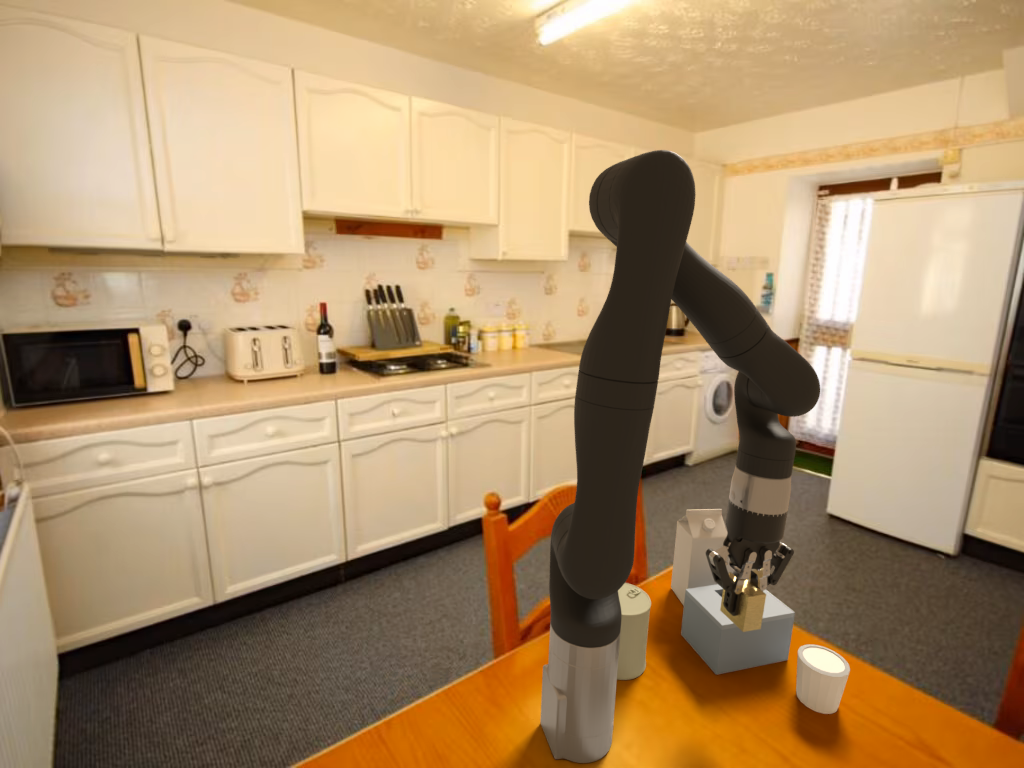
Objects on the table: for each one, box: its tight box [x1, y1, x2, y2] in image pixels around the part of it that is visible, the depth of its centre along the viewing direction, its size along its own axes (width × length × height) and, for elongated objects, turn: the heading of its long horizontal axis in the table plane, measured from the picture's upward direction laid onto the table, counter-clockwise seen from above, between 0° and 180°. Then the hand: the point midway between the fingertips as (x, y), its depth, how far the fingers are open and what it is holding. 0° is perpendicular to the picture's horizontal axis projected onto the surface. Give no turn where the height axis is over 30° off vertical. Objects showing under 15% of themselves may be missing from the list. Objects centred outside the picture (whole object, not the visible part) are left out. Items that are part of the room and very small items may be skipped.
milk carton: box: [670, 508, 727, 607], centre depth 103 cm, size 7×7×19 cm
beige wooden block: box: [720, 577, 766, 632], centre depth 77 cm, size 3×5×6 cm, turn 16°
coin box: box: [680, 584, 796, 675], centre depth 90 cm, size 14×10×9 cm
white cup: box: [795, 643, 851, 715], centre depth 80 cm, size 7×7×7 cm
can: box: [617, 582, 652, 681], centre depth 86 cm, size 9×9×12 cm
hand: (741, 610), depth 77 cm, fingers closed on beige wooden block, 2 cm apart
